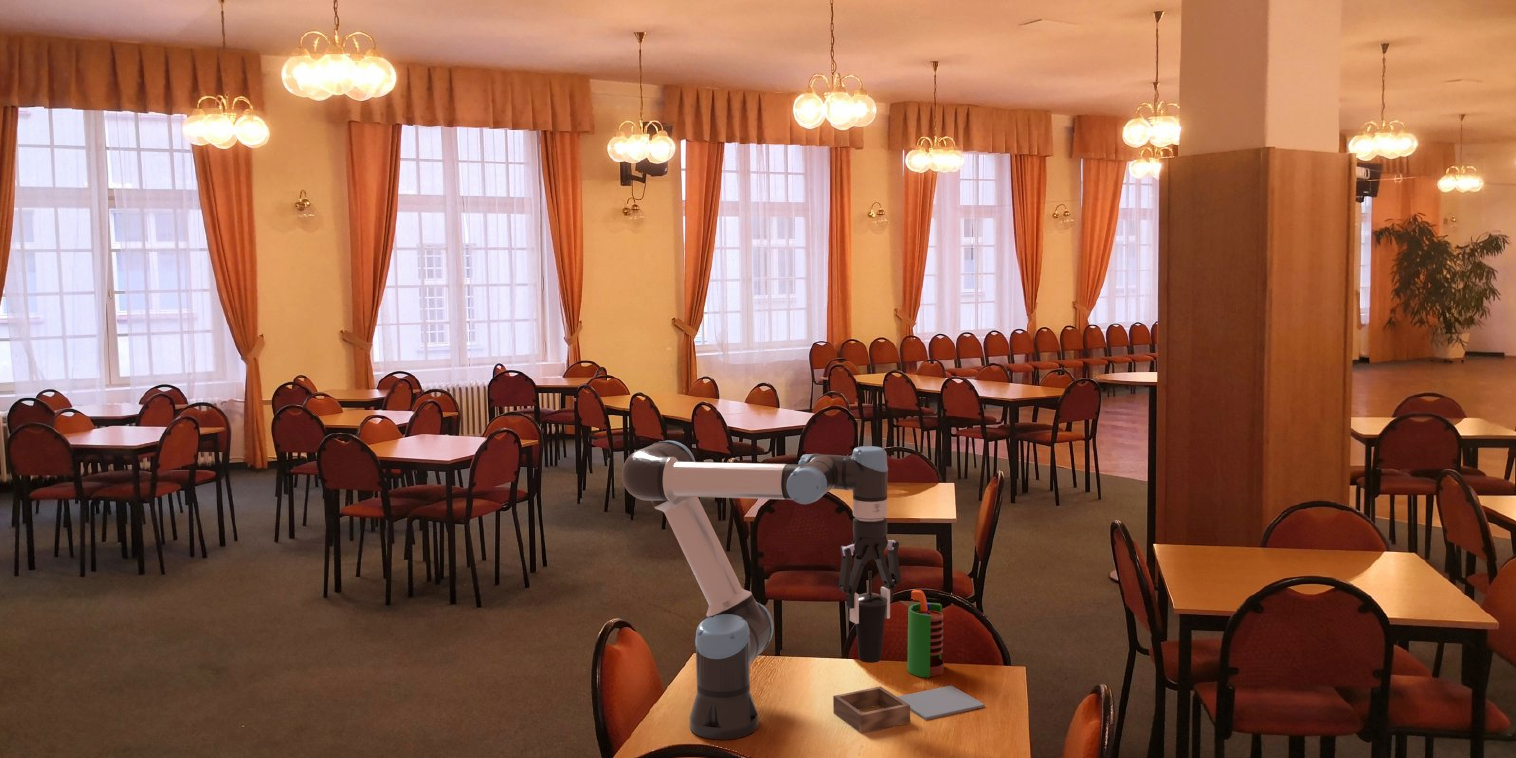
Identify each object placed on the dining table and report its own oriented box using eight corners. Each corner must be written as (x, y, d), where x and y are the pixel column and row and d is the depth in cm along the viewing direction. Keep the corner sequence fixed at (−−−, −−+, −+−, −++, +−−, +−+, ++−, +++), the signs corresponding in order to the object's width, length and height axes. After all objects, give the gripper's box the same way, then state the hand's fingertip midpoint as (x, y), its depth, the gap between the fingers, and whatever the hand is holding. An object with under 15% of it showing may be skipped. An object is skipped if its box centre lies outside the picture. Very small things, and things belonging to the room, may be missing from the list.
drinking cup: (849, 663, 245) (849, 574, 243) (856, 651, 252) (856, 565, 250) (883, 666, 243) (884, 577, 241) (889, 655, 250) (890, 567, 248)
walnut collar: (861, 733, 241) (861, 715, 240) (833, 713, 252) (833, 695, 252) (910, 722, 246) (910, 705, 246) (880, 703, 257) (880, 686, 257)
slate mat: (925, 720, 247) (925, 717, 247) (894, 699, 259) (894, 697, 259) (984, 706, 254) (984, 704, 254) (951, 687, 266) (951, 685, 266)
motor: (943, 678, 272) (943, 598, 270) (906, 676, 273) (905, 597, 271) (944, 664, 282) (944, 586, 280) (908, 662, 283) (908, 585, 281)
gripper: (838, 526, 237) (838, 631, 239) (918, 516, 245) (917, 617, 248) (821, 518, 244) (821, 621, 246) (900, 509, 252) (899, 608, 254)
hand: (869, 619), depth 247 cm, fingers closed on drinking cup, 7 cm apart
